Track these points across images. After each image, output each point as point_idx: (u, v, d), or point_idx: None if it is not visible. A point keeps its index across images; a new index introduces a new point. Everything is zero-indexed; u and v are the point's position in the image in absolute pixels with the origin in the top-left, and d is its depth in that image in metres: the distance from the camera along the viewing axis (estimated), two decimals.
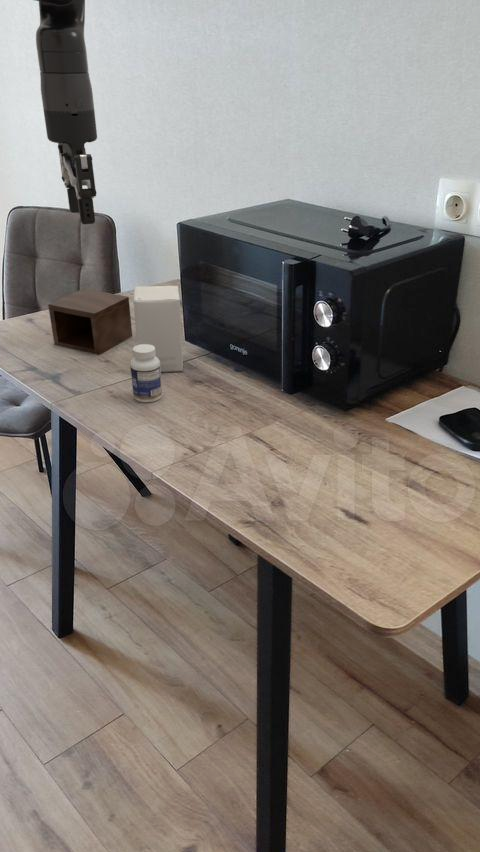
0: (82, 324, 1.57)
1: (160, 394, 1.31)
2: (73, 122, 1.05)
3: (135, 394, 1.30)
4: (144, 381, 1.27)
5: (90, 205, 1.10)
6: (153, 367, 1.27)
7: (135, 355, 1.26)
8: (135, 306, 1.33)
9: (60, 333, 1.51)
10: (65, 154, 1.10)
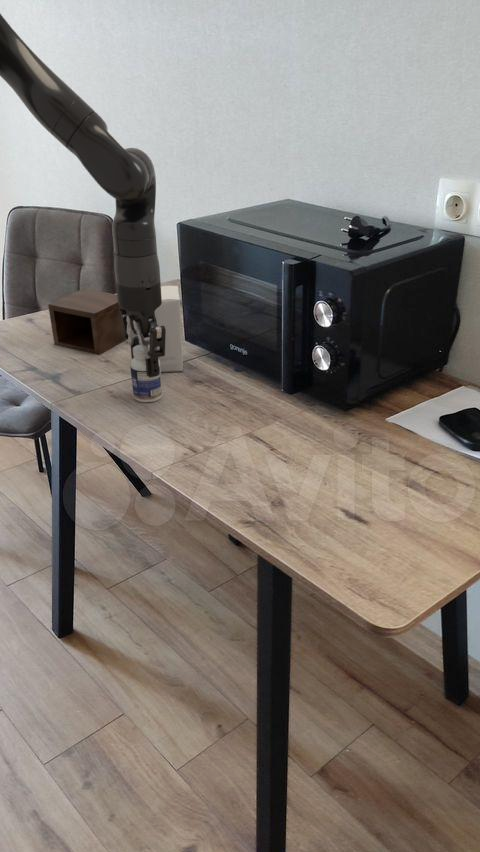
0: (82, 324, 1.57)
1: (160, 394, 1.31)
2: (147, 294, 1.18)
3: (135, 394, 1.30)
4: (144, 381, 1.27)
5: (157, 362, 1.25)
6: None
7: (135, 355, 1.26)
8: None
9: (60, 333, 1.51)
10: (132, 316, 1.23)
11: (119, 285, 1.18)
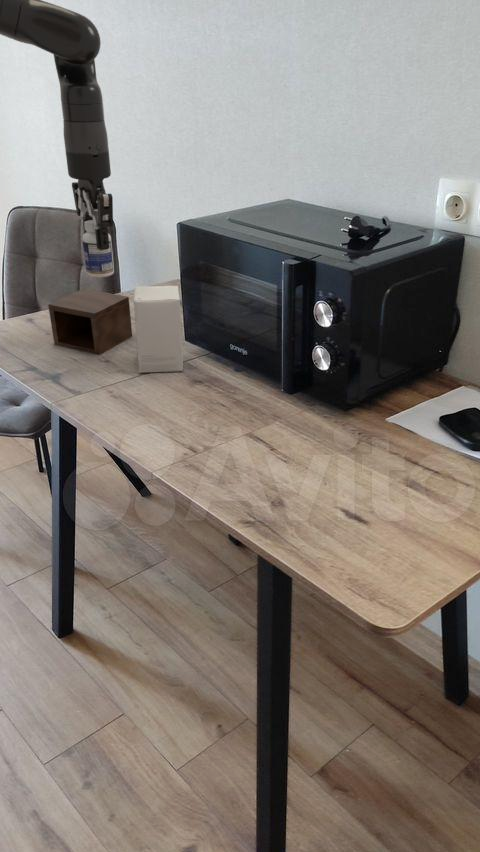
0: (82, 324, 1.57)
1: (112, 270, 1.36)
2: (94, 162, 1.23)
3: (87, 269, 1.35)
4: (95, 254, 1.32)
5: (106, 234, 1.30)
6: None
7: (86, 228, 1.31)
8: (135, 306, 1.33)
9: (60, 333, 1.51)
10: (82, 188, 1.28)
11: (68, 152, 1.23)
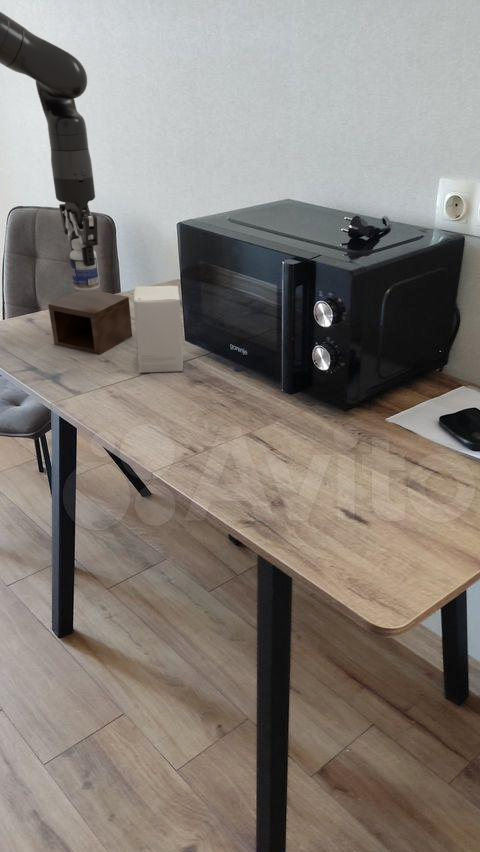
0: (82, 324, 1.57)
1: (97, 284, 1.47)
2: (80, 186, 1.34)
3: (75, 283, 1.46)
4: (82, 270, 1.43)
5: (92, 251, 1.41)
6: None
7: (73, 246, 1.42)
8: (135, 306, 1.33)
9: (60, 333, 1.51)
10: (69, 210, 1.40)
11: (55, 178, 1.34)
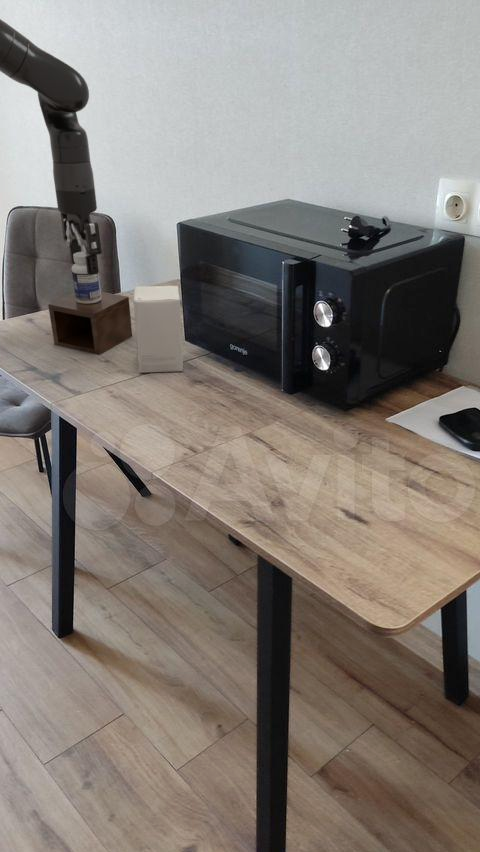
0: (82, 324, 1.57)
1: (99, 297, 1.48)
2: (82, 198, 1.35)
3: (76, 296, 1.47)
4: (83, 283, 1.45)
5: (95, 260, 1.41)
6: None
7: (75, 260, 1.44)
8: (135, 306, 1.33)
9: (60, 333, 1.51)
10: (71, 221, 1.41)
11: (57, 190, 1.35)
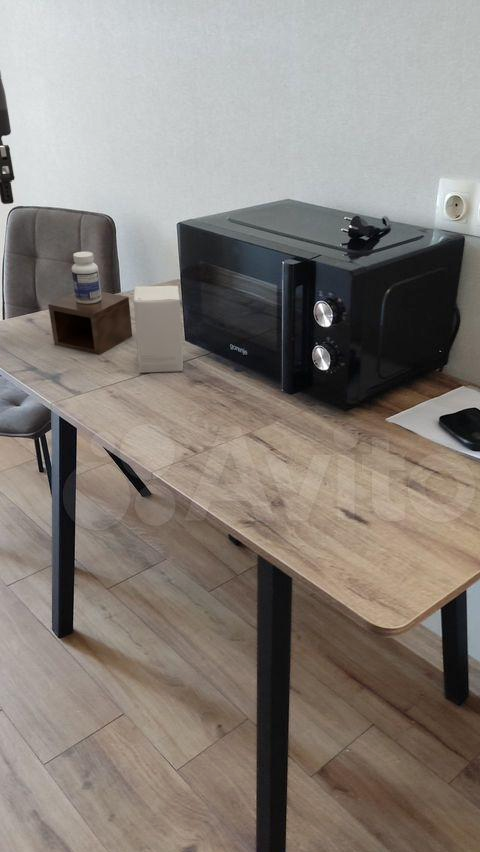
0: (82, 324, 1.57)
1: (99, 297, 1.48)
2: None
3: (76, 296, 1.47)
4: (83, 283, 1.45)
5: (9, 187, 1.33)
6: (91, 271, 1.44)
7: (75, 260, 1.44)
8: (135, 306, 1.33)
9: (60, 333, 1.51)
10: None
11: None
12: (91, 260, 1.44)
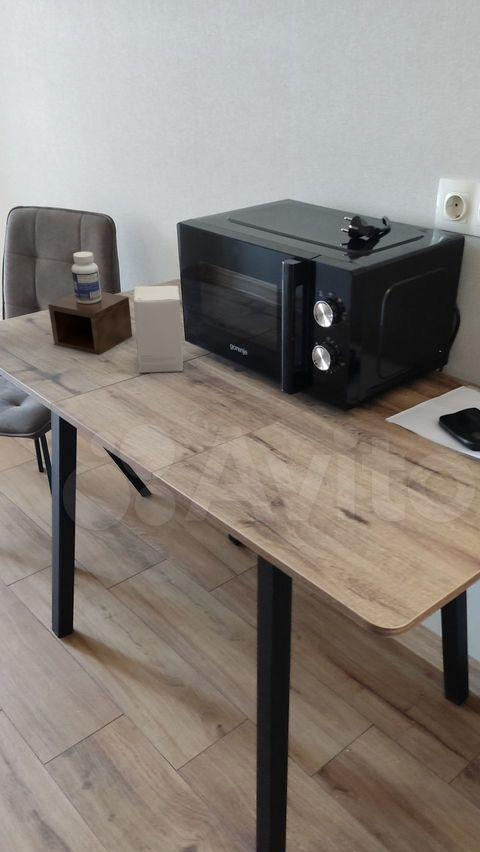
0: (82, 324, 1.57)
1: (99, 297, 1.48)
2: None
3: (76, 296, 1.47)
4: (83, 283, 1.45)
5: None
6: (91, 271, 1.44)
7: (75, 260, 1.44)
8: (135, 306, 1.33)
9: (60, 333, 1.51)
10: None
11: None
12: (91, 260, 1.44)
